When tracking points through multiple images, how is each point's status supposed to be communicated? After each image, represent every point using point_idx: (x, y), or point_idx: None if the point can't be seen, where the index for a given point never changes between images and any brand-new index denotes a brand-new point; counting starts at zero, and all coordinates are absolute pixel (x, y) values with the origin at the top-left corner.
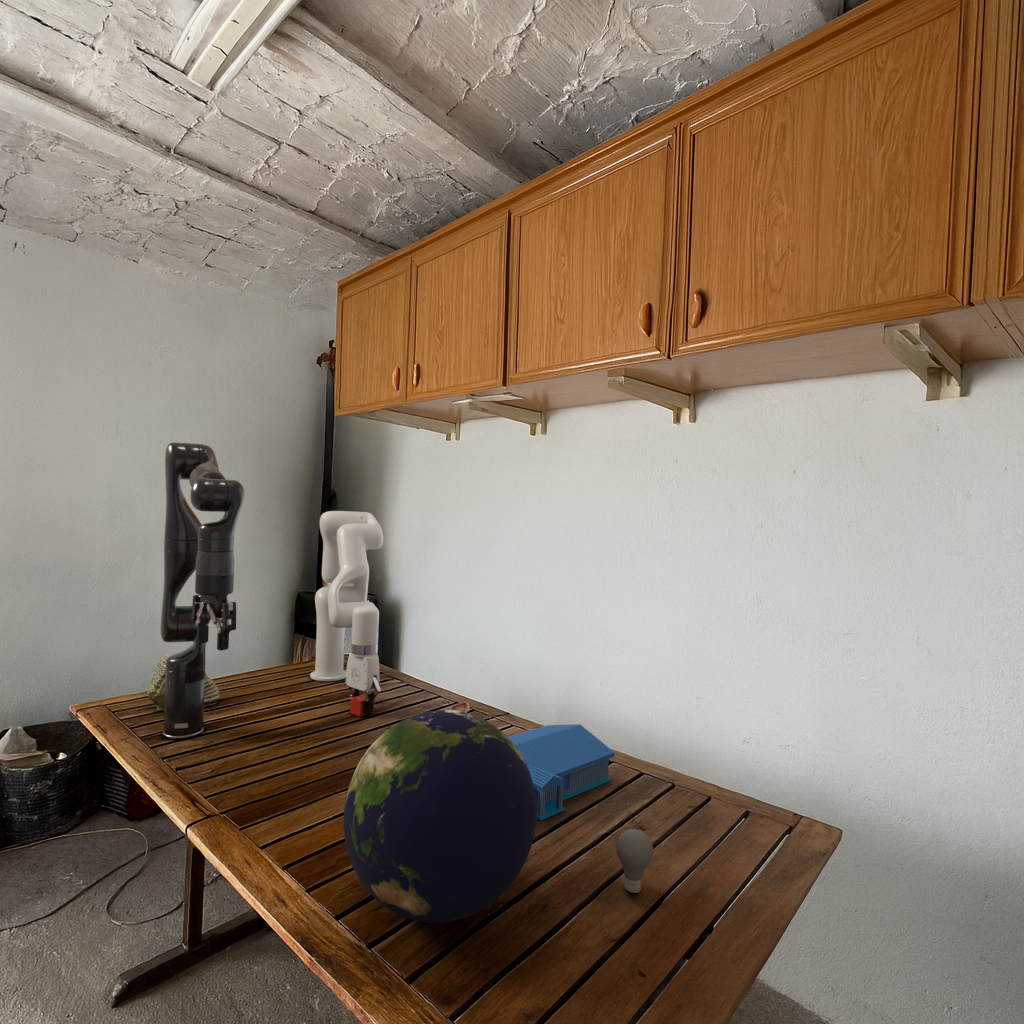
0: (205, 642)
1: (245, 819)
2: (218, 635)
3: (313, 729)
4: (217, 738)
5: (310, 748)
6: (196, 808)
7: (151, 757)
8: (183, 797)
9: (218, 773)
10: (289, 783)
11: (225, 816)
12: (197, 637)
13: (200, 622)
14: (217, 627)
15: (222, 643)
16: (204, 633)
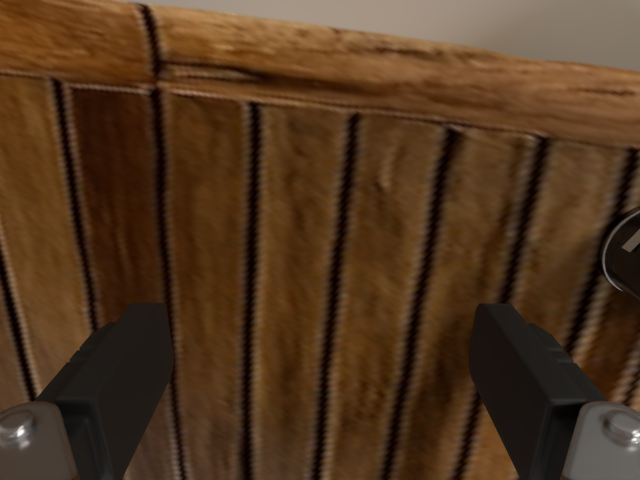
0: (471, 350)
1: (93, 111)
2: (78, 381)
3: (410, 437)
4: (543, 285)
5: (324, 381)
6: (215, 61)
7: (575, 121)
8: (291, 67)
9: (354, 188)
10: (194, 263)
11: (134, 88)
12: (516, 324)
13: (567, 459)
14: (42, 452)
15: (82, 349)
16: (502, 396)
